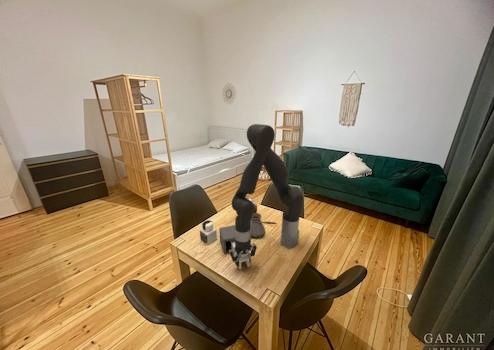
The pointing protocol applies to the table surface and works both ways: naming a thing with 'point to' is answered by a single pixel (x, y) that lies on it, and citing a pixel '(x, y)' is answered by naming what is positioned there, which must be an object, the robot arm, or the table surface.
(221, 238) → the shelf
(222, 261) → the table surface
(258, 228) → the coffee pot
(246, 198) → the wooden sphere
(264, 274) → the table surface
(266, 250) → the table surface
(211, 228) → the medicine bottle
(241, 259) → the long white plank
